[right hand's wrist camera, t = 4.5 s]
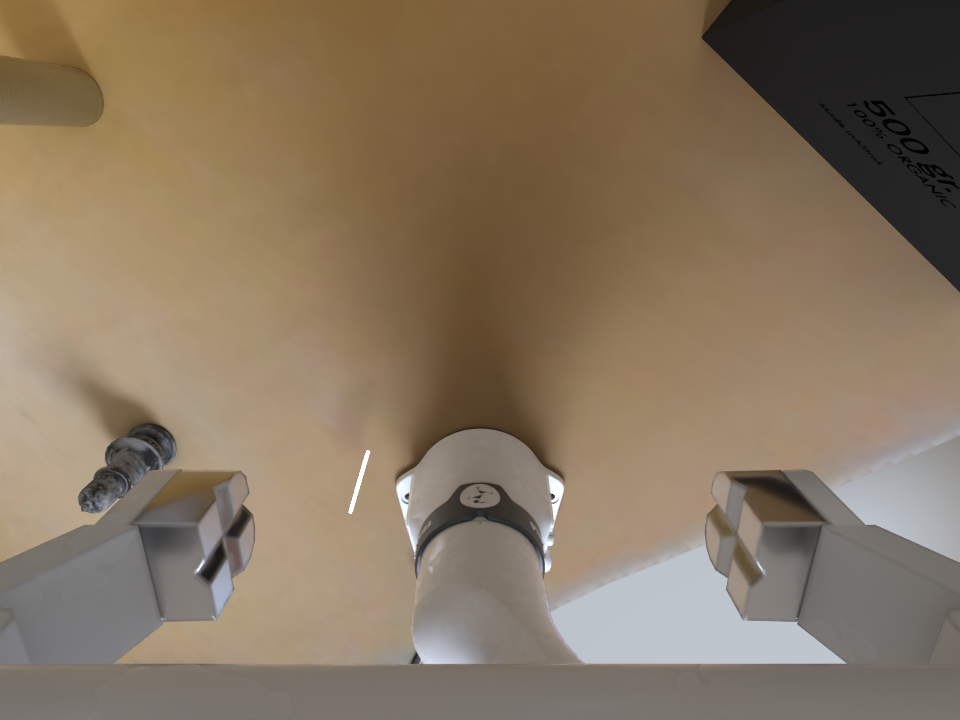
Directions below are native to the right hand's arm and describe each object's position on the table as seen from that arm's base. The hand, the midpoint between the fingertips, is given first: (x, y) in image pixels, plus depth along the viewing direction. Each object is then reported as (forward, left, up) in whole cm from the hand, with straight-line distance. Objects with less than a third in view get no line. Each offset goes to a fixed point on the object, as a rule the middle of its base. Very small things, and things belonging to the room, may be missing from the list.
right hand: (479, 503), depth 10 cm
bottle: (+9, +36, -48) cm, 61 cm away
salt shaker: (-26, +36, -48) cm, 65 cm away
